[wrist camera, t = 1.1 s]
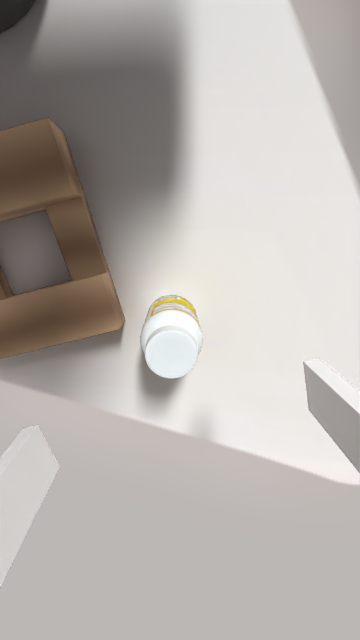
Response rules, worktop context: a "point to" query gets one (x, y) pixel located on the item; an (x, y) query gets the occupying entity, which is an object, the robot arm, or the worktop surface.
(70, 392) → the worktop surface
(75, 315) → the frame
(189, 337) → the supplement bottle
